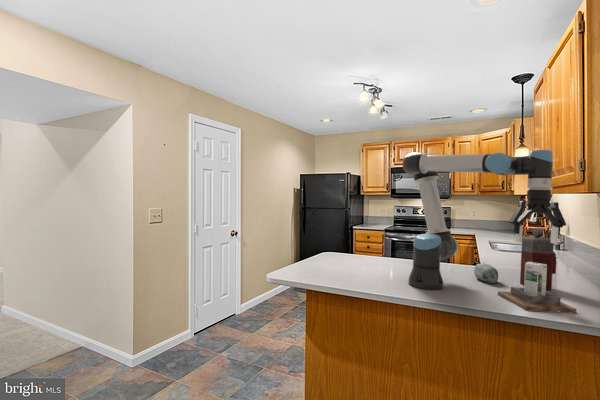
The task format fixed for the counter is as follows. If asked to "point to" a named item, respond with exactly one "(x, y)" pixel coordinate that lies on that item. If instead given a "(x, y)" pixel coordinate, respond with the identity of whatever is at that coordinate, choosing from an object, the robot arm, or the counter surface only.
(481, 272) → the grey green rock
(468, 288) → the counter surface
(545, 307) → the board
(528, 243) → the toy vending machine
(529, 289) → the syrup box
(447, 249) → the robot arm
